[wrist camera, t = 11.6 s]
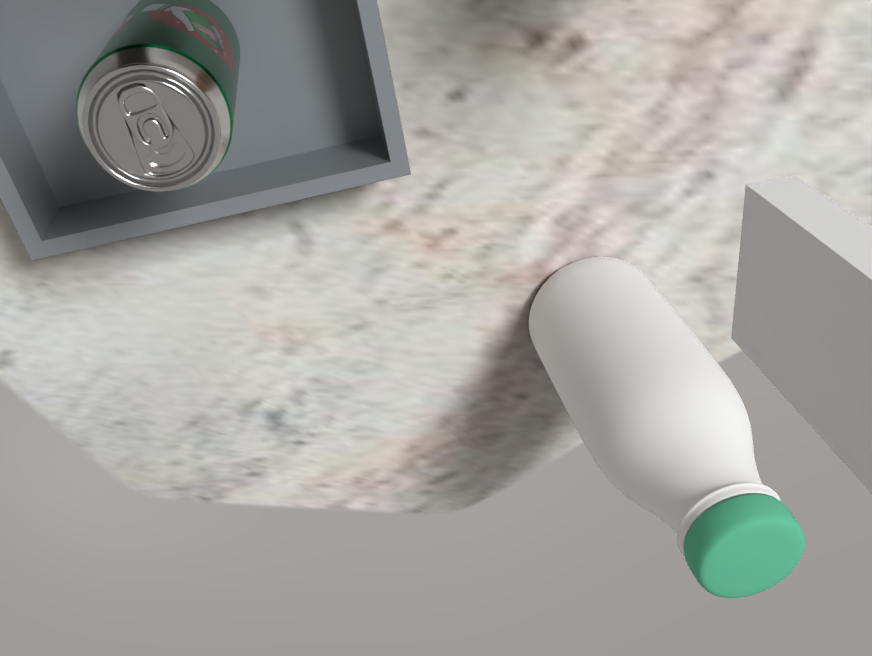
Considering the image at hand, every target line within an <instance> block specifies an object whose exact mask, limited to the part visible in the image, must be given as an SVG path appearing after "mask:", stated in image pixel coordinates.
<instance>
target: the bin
mask: <svg viewBox="0 0 872 656" xmlns="http://www.w3.org/2000/svg"><path fill="white" fill-rule="evenodd" d="M139 1H140V0H0V199H1V201H2V203H3V205H4V207H5V209H6V211H7V213H8V215H9V217H10V219H11V221H12V223H13V225H14V227H15V229H16V231H17V233H18V235H19V237H20V239H21V241H22V243H23V245H24V247H25V249H26V251H27V253H28V255H29V257H30V259H31V261H33V260H37V259H42V258H46V257H50V256H55V255H59V254H64V253H68V252H72V251H77V250H81V249H86V248H90V247H94V246H99V245H103V244H107V243H112V242H116V241H121V240H125V239H129V238H134V237H138V236H143V235H147V234H151V233H156V232H160V231H165V230H169V229H173V228H178V227H182V226H186V225H191V224H195V223H200V222H204V221H208V220H213V219H217V218H222V217H226V216H230V215H235V214H239V213H243V212H248V211H252V210H257V209H261V208H265V207H270V206H274V205H279V204H283V203H287V202H292V201H296V200H301V199H305V198H309V197H314V196H318V195H322V194H327V193H331V192H336V191H340V190H344V189H349V188H353V187H358V186H362V185H366V184H371V183H375V182H380V181H384V180H388V179H393V178H397V177H401V176H406V175H410V174H411V172H410V167H409V162H408V157H407V152H406V147H405V142H404V136H403V131H402V126H401V121H400V116H399V111H398V106H397V101H396V96H395V91H394V86H393V80H392V75H391V70H390V65H389V60H388V55H387V50H386V45H385V40H384V35H383V30H382V25H381V19H380V14H379V9H378V4H377V0H210V1H212V2H213V3H214V4H215V5H217V6H218V7H219V8H220V9H221V10H222V11H223V12H224V13H225V14H226V16H227V17H228V19H229V20H230V21H231V23H232V25H233V27H234V29H235V31H236V34H237V37H238V40H239V46H240V65H239V75H238V84H237V94H236V104H235V113H234V123H233V131H232V139H231V143H230V146H229V149H228V152H227V154H226V155H225V157H224V159H223V161H222V162H221V164H220V165H219V166H218V168H217V169H216V170H215V171H214V172H213V173H211V174H210V175H209V176H208V177H206V178H205V179H203V180H202V181H200V182H199V183H196V184H194V185H192V186H190V187H186V188H182V189H178V190H174V191H167V192H151V191H145V190H140V189H137V188H133V187H131V186H129V185H126V184H124V183H122V182H120V181H119V180H117V179H116V178H114V177H113V176H111V175H110V174H109V173H108V172H107V171H105V170H104V169H103V168H102V166H101V165H100V164H99V163H98V162H97V161H96V159H95V158H94V157H93V155H92V154H91V153H90V151H89V150H88V148H87V147H86V145H85V143H84V141H83V139H82V136H81V134H80V131H79V127H78V124H77V117H76V99H77V94H78V90H79V87H80V84H81V82H82V80H83V78H84V76H85V75H86V73H87V71H88V70H89V68H90V67H91V66H92V64H93V63H94V61H95V60H96V59H97V57H98V56H99V54H100V53H101V52H102V50H103V49H104V47H105V46H106V45H107V43H108V42H109V40H110V39H111V38H112V36H113V35H114V33H115V32H116V31H117V29H118V28H119V26H120V25H121V24H122V22H123V21H124V19H125V18H126V17H127V15H128V14H129V12H130V11H131V10H132V8H133V7H134V6H135V5H136V4H137V3H138V2H139Z"/></svg>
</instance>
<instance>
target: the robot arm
mask: <svg viewBox="0 0 872 656" xmlns="http://www.w3.org/2000/svg"><path fill="white" fill-rule="evenodd" d="M731 338H732V339H733V340H734V341H735V343H736V344H737V345H738V346H739V347H740V348H741V349H742V350H743V351H744V353H745V354H746V355H747V356H748V357H749V358H750V359H751V360H752V361H753V363H755V365H756V366H757V367H758V368H759V369H760V370H761V371H762V373H763V374H764V375H765V376H766V377H767V378H768V379H769V380H770V381H771V383H772V384H773V385H774V386H775V387H776V388H777V389H778V390H779V391H780V392H781V394H782V395H783V396H784V397H785V398H786V399H787V400H788V401H789V403H790V404H792V406H793V407H794V408H795V409H796V410H797V411H798V413H800V415H801V416H802V417H803V418H804V419H805V420H806V422H807V423H808V424H809V425H810V426H811V427H812V428H813V429H814V430H815V432H816V433H817V434H818V435H819V436H820V437H821V438H822V439H823V440H824V442H825V443H826V444H827V445H828V446H829V447H830V448H831V449H832V450H833V451H834V453H835V454H836V455H837V456H838V457H839V458H840V459H841V460H842V461H843V463H844V464H845V465H846V466H847V467H848V468H849V469H850V470H851V472H852V473H853V474H854V475H855V476H856V477H857V478H858V479H859V480H860V482H861V483H862V484H863V485H864V486H865V487H866V488H867V489H868V490H869V492H870V493H871V494H872V227H871V226H870V225H868V224H867V223H865V222H864V221H862V220H861V219H859V218H858V217H856V216H855V215H853V214H852V213H850V212H849V211H847V210H846V209H844V208H843V207H841V206H840V205H838V204H837V203H835V202H834V201H832V200H831V199H829V198H828V197H826V196H825V195H823V194H822V193H820V192H819V191H817V190H816V189H814V188H813V187H811V186H810V185H808V184H807V183H805V182H804V181H803V180H801V179H800V178H798V177H797V176H795V175H793V176H788V177H782V178H777V179H772V180H766V181H761V182H756V183H750V184H746V189H745V199H744V210H743V220H742V231H741V242H740V252H739V263H738V273H737V284H736V294H735V305H734V316H733V326H732V337H731Z"/></svg>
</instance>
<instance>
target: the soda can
mask: <svg viewBox="0 0 872 656" xmlns="http://www.w3.org/2000/svg"><path fill="white" fill-rule="evenodd" d="M239 65H240V46H239V40H238V37H237V34H236V31H235V29H234V27H233V25H232V23H231V21H230V20H229V19H228V17H227V16H226V14H225V13H224V12H223V11H222V10H221V9H220V8H219V7H218V6H217V5H215V4H214V3H213V2H212V1H210V0H140V1H139V2H138V3H137V4H136V5H135V6H134V7H133V8H132V10H131V11H130V12H129V14H128V15H127V17H126V18H125V19H124V21H123V22H122V24H121V25H120V26H119V28H118V29H117V31H116V32H115V33H114V35H113V36H112V38H111V39H110V40H109V42H108V43H107V45H106V46H105V47H104V49H103V50H102V52H101V53H100V54H99V56H98V57H97V59H96V60H95V61H94V63H93V64H92V66H91V67H90V68H89V70H88V71H87V73H86V75H85V76H84V78H83V80H82V82H81V84H80V87H79V90H78V94H77V99H76V117H77V124H78V127H79V131H80V134H81V136H82V139H83V141H84V143H85V145H86V147H87V148H88V150H89V151H90V153H91V154H92V155H93V157H94V158H95V159H96V161H97V162H98V163H99V164H100V165H101V166H102V168H103V169H104V170H105V171H107V172H108V173H109V174H110V175H111V176H113V177H114V178H116V179H117V180H119V181H120V182H122V183H124V184H126V185H129V186H131V187H133V188H137V189H140V190H145V191H151V192H167V191H174V190H178V189H182V188H186V187H190V186H192V185H194V184H196V183H199V182H200V181H202V180H203V179H205V178H206V177H208V176H209V175H210V174H211V173H213V172H214V171H215V170H216V169H217V168H218V166H219V165H220V164H221V162H222V161H223V159H224V157H225V155H226V154H227V152H228V149H229V146H230V143H231V139H232V131H233V123H234V113H235V104H236V94H237V84H238V75H239Z"/></svg>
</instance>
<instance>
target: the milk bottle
mask: <svg viewBox="0 0 872 656" xmlns="http://www.w3.org/2000/svg"><path fill="white" fill-rule="evenodd" d="M529 333H530V337H531V340H532V342H533V344H534V347H535V349H536V351H537V353H538V355H539V357H540V359H541V361H542V363H543V365H544V367H545V369H546V371H547V373H548V375H549V377H550V379H551V381H552V383H553V385H554V387H555V389H556V391H557V393H558V395H559V397H560V398H561V400H562V402H563V404H564V406H565V408H566V410H567V412H568V414H569V416H570V418H571V420H572V421H573V423H574V425H575V427H576V429H577V431H578V433H579V435H580V437H581V439H582V440H583V442H584V444H585V446H586V447H587V449H588V451H589V452H590V454H591V456H592V458H593V459H594V461H595V463H596V464H597V466H598V467H599V468H600V470H601V471H602V472H603V474H604V475H605V476H606V478H607V479H608V480H609V481H610V482H611V483H612V484H613V485H614V486H615V487H616V488H617V489H618V490H619V491H620V492H621V493H622V494H624V495H625V496H626V497H627V498H629V499H630V500H632V501H633V502H635V503H636V504H638V505H639V506H641V507H643V508H644V509H646V510H648V511H649V512H651V513H653V514H654V515H656V516H657V517H659V518H660V519H661V520H663V521H664V522H665V523H666V524H668V525H669V526H670V527H671V528H672V529H673V530H674V531H675V532H676V533H677V545H678V548H679V550H680V551H681V553H682V554H683V555H684V556H685V559H686V561H687V563H688V565H689V567H690V569H691V571H692V573H693V574H694V576H695V578H696V579H697V581H698V582H699V584H700V585H701V586H702V587H703V588H704V589H706V590H707V591H708V592H709V593H711V594H713V595H716V596H719V597H724V598H739V597H747V596H751V595H754V594H757V593H760V592H762V591H765V590H767V589H769V588H771V587H772V586H774V585H776V584H777V583H779V582H780V581H781V580H783V579H784V578H785V577H786V576H787V575H788V574H789V573H790V572H791V571H792V570H793V569H794V568H795V567H796V565H797V564H798V562H799V561H800V559H801V557H802V555H803V552H804V549H805V537H804V533H803V531H802V528H801V526H800V524H799V523H798V522H797V520H796V519H795V517H794V516H793V514H792V513H791V512H790V511H789V509H788V508H787V507H786V506H785V505H784V504H783V503H782V502H781V500H780V498H779V497H778V495H777V494H776V492H774V491H773V490H772V489H771V488H769V487H767V486H765V485H763V484H762V482H761V480H760V477H759V474H758V472H757V468H756V464H755V459H754V450H753V439H752V432H751V426H750V423H749V419H748V415H747V412H746V409H745V407H744V405H743V402H742V400H741V398H740V396H739V394H738V393H737V391H736V389H735V387H734V386H733V384H732V383H731V381H730V380H729V378H728V377H727V376H726V374H725V373H724V372H723V370H722V369H721V368H720V366H719V365H718V363H717V362H716V361H715V359H714V358H713V357H712V356H711V354H710V353H709V352H708V351H707V350H706V348H705V347H704V346H703V345H702V343H701V342H700V341H699V340H698V338H697V337H696V336H695V335H694V334H693V332H692V331H691V330H690V329H689V327H688V326H687V325H686V324H685V323H684V321H683V320H682V319H681V318H680V317H679V315H678V314H677V313H676V312H675V311H674V309H673V308H672V307H671V306H670V305H669V303H668V302H667V301H666V300H665V299H664V297H663V296H662V295H661V294H660V293H659V291H658V290H657V289H656V288H655V287H654V286H653V284H652V283H651V282H650V281H649V280H648V279H647V278H646V276H645V275H644V274H643V273H642V272H641V271H640V270H639V269H638V268H636V267H635V266H634V265H632V264H630V263H628V262H626V261H624V260H621V259H617V258H612V257H597V256H595V257H590V258H583V259H580V260H578V261H575V262H572V263H570V264H568V265H566V266H564V267H563V268H561V269H559V270H558V271H557V272H556V273H554V274H553V275H552V276H550V277H549V279H548V280H547V281H546V282H545V283H544V284H543V285H542V286H541V288H540V290H539V291H538V293H537V294H536V296H535V299H534V301H533V304H532V306H531V310H530V314H529Z"/></svg>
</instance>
